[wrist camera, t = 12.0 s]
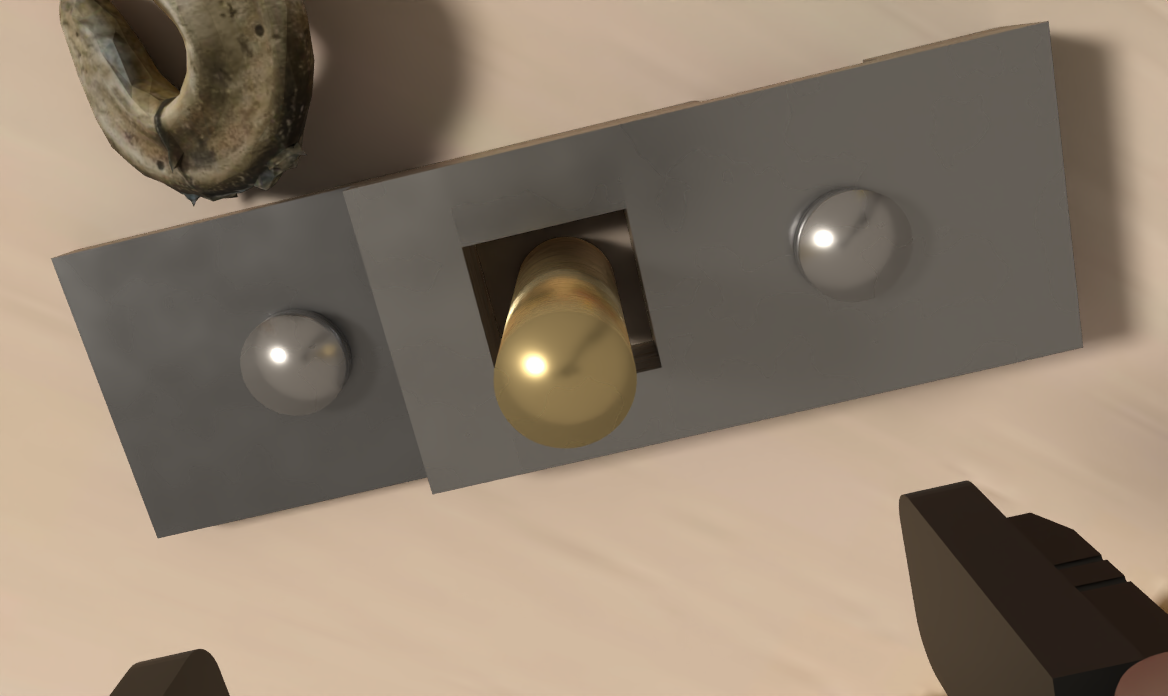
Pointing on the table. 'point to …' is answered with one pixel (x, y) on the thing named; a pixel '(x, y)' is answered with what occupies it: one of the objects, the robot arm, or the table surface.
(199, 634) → the table surface
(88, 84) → the pulley block
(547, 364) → the brass pin
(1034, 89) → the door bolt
